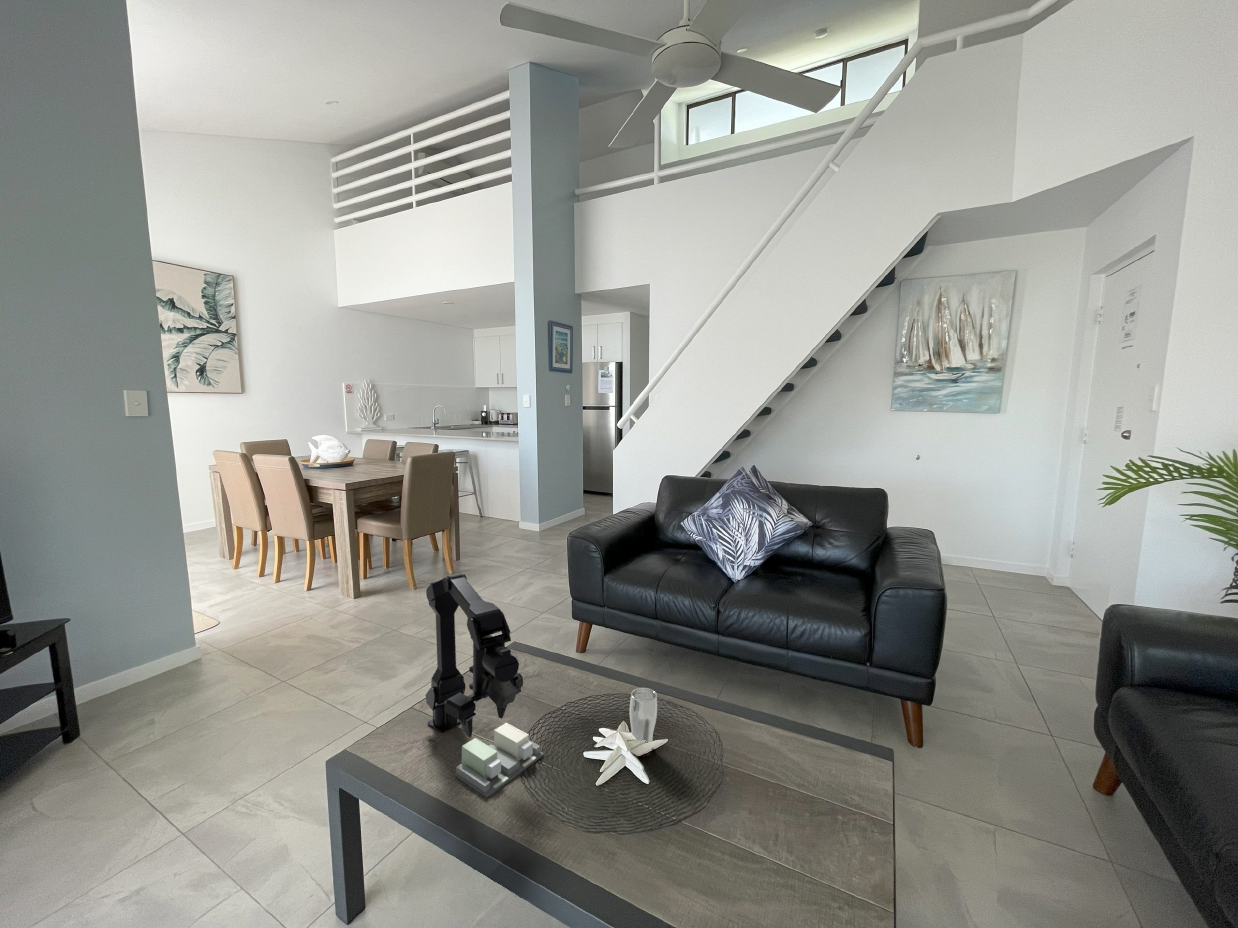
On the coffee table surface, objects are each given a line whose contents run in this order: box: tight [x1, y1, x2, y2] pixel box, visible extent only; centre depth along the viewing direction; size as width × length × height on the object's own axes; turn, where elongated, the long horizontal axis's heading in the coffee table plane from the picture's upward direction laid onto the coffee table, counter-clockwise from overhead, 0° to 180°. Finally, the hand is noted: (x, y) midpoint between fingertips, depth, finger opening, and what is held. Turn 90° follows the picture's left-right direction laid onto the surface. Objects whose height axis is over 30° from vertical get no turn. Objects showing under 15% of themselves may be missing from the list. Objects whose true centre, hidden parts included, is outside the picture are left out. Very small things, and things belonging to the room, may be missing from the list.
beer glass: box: [629, 687, 658, 742], centre depth 133 cm, size 7×7×15 cm
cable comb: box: [454, 739, 545, 799], centre depth 126 cm, size 11×18×2 cm, turn 145°
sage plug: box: [461, 737, 501, 779], centre depth 123 cm, size 10×4×5 cm, turn 54°
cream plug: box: [493, 722, 533, 760], centre depth 129 cm, size 10×4×5 cm, turn 55°
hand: (485, 726), depth 121 cm, fingers open, 9 cm apart
